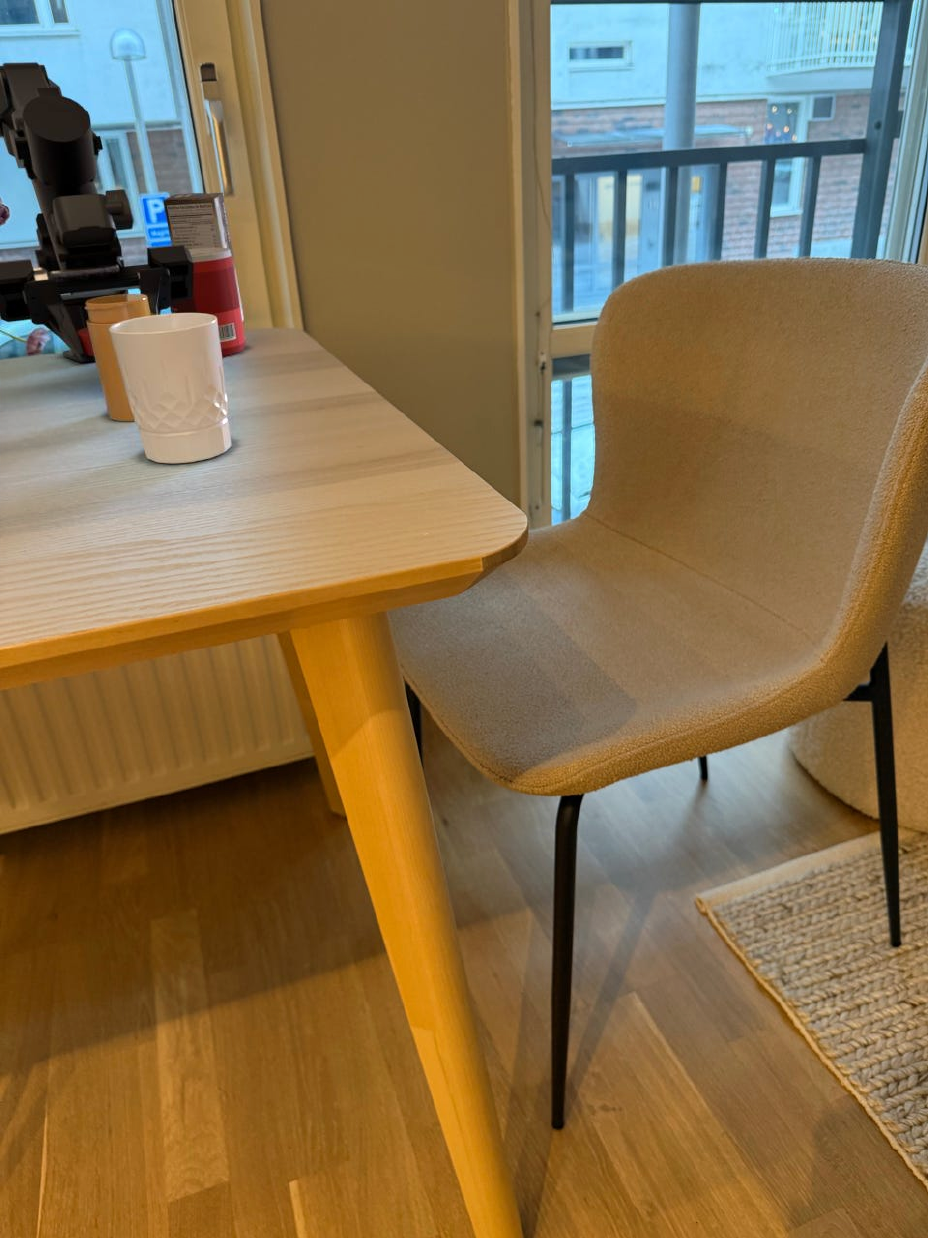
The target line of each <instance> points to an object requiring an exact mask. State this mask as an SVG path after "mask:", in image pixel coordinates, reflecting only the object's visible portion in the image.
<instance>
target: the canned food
mask: <svg viewBox="0 0 928 1238" xmlns="http://www.w3.org/2000/svg"><path fill="white" fill-rule="evenodd" d="M188 250H189V251H190V254H191V257H192V260H193V262H194V280H193V297H192V298H190V299H189V300H188V301H180V302H171V306H170V307H169V310H170V314H174V313H204V314H210V315H214V316H216V317H217V321H218V329H219V337H220V344H221V352H222V358H223V357H228V356H232V355H236V354H238V353H241V352H242V351H243V350H244V349H245V347H246V346H245V345H246V337H245V330H244V324H243V323H244V322H243V323H242V316H241V310H240V304H239V297H238V291H237V285H236V278H235V272H234V266H233V261H232V255H231V252H230V249H227V248H198V249H188Z"/></svg>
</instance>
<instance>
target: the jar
mask: <svg viewBox="0 0 928 1238" xmlns="http://www.w3.org/2000/svg"><path fill="white" fill-rule="evenodd" d="M85 303H86V306H85V309H86V310H87V312H88V316H89V320H87V321H86V323H87V327H88V331H89V335H90V340H91V344H92V348H93V352H94V356H95V360H94V361H95V364H96V367H97V368H96V369H97V373H98V377H99V380H100V385H101V389H102V392H103V397H104V401H105V405H106V409H107V414H108V417H109V419H111V420H113V421H117V422H135V420H134V415H133V413H132V410H131V407H130V404H129V401H128V397H127V394H126V390H125V386H124V383H123V379H122V375H121V372H120V368H119V365H118V361H117V357H116V354H115V350H114V347H113V343H112V340H111V336H110V332H109V327H110V326H112V325H114V324H116V323H119V322H122V321H125V320H130V319H134V318H140V317H146V316H153V315H154V314H153V313H151V312H150V307H149V302H148V297H147V295H144V294H140V293H129V294H119V295H110V296H103V297H97V298H93V299H90V300H87V301H86V302H85Z"/></svg>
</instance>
